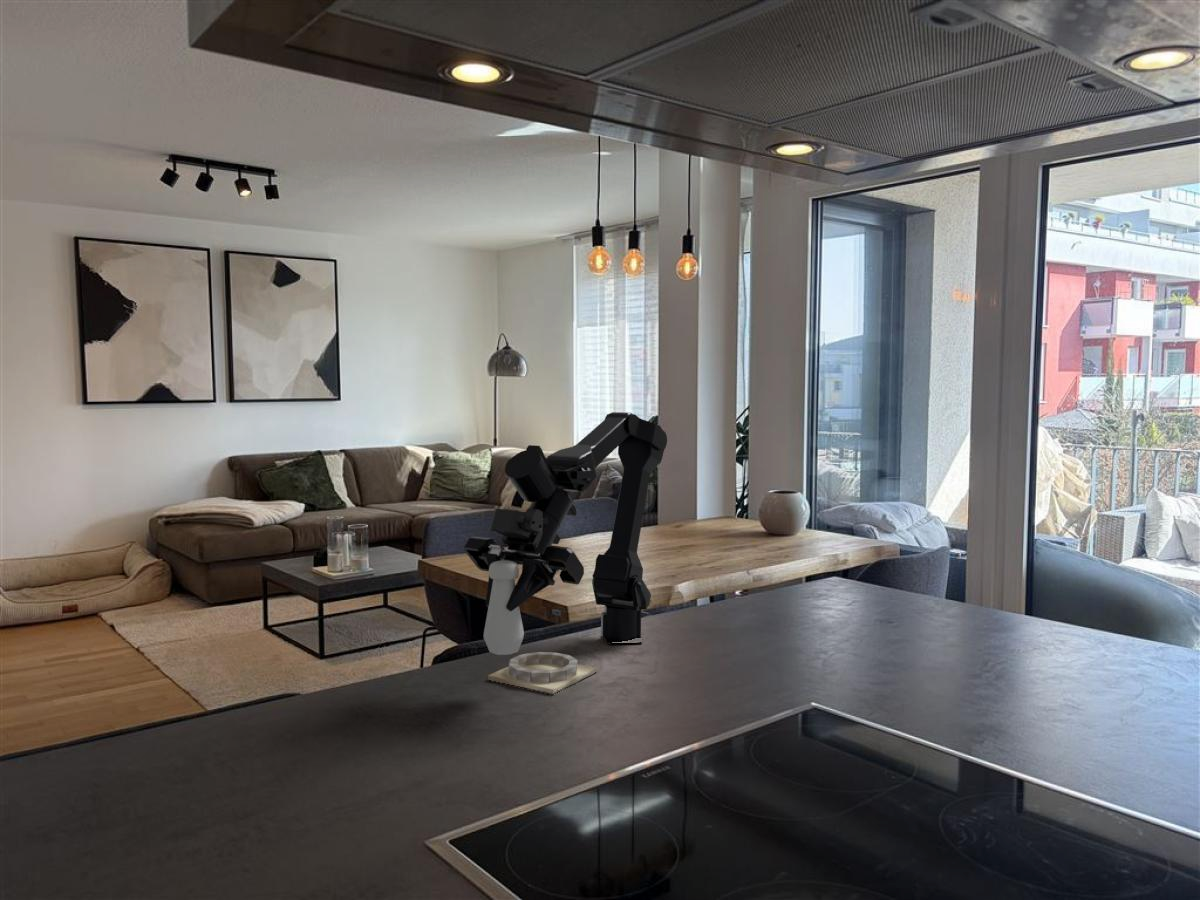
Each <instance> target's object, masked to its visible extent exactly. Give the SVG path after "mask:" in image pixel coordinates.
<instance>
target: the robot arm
mask: <svg viewBox="0 0 1200 900" xmlns="http://www.w3.org/2000/svg"><path fill="white" fill-rule="evenodd" d="M667 445H668V436H667V432H665V430H663V428H662V427H661V425H659V424H655V423H653V422H650V421H648V420H646V419H643V418H640V417H639V416H638V415H636V414H633V413H632V412H627V411H626V412H624V411H623V412H619V411H618V412H615V411H612V412H610V413H607V414H606V416H605V418H604V420H603V421H602V422H600V423H599V424H598V425H597V426H596V427H595V428H593V430H591V431H590V432H588V434H586V436H584V437H583V438H582V439H581V440H580V441H578V442H577V443H576V444H574V445H573V446H570V447H565V448H561V449H559V450H557V451H555V452H553V453H551V454H549V455H548V456H547V457H546V455H545V454H544V451H543V449H542V447H541V446H540V445H534V444H533V445H531V444H528V445H527V447H526V449H524V450H522V451H519V452H518V453H516V454H515V455H513V456H512V457H511V458H509V459H508V460H507V462H506V464H505V467H504V472H505V475H506V476H507V477H508V479H509V481H511V483H512V485H513V486H514V488H515V489H516V491H517V492H518V493H519V495H520V497H521V498H522V499H523V500H524V501H526V502H528V503H530V504H529V506H528V507H527V509H526V510H525V511H519V510H517V509H516V510H514V509H507V508H506V509H504V508H495V509H494V513H493V515H492V520H491V524H490V527H489V531H491V532H495V533H498V534H499V535H502V537H501V539H500V540H502V542H503V544H505V545H507V548H504V547H503V546H501V545H498V544H497V543H496V541H495V540H494V539H493V537H492V538H491V537H484V536H483V537H482V536H470V537H468V539H467V541H466V543H465V545H464V546H463V548H462V550H463V551H464V552H465V554H466V555H467V556H468V558H469V559H470V560H471V562H472V563H473V564H474V566H476V567H477V569H478V570H480V571H482V572H488V573H489V567H490V565H491V564H492V563H493V562H496V561H503V560H507V561H513V562H516V563H517V564H518V566H522V567H521V574H520V575H519V577H518V580H517V582H516V583H515V588H514V590H513V592H512V594H511V596H510V598H509V601H508V603H507V606H506V608H507V609H508V610H509V611H513V610H514V609H515V608H517V607H518V606H519V607H520V606H521V605H522V604H523V603H525V602H526V601H528V599H531V597H533V596H534V595H536V594H537V593H540V592H541V591H542V590H544V589H546V588H547V587H548V586H555V584H556V581H555V579H554V578H555V576H556V574H557V573H559V578H560V580H561V582H562V583H564V584H572V585H579V584H580V583H581V580H582V579H583V576H584V575H585V568H584V565H583V564H582V562H581V561H580V559H579V557H578V555H576V552H575V551H574V550H573V548H572V547H568V546H559V543H560V541H561V537H560V536H559V534H558V533H559V531H560V529H561V527H562V525H563V523H564V521H565V519H566V517H567V516H573V517H575V516H577V508H576V505H575V502H574V500H575V499H573V498H571V497H570V495H569V494H568V492H576V493H577V492H578V493H584V492H585V491H586V490H588V489H589V487H590V486H591V485H592V484H593V482H594V480H596V479H595V478H597V468H598V466H599V465H600V464H601V463H602V462H603V461H604V460H605V459H606V458H608V456H610V454H611V453H613V451H615V450H616V449H617V455H618V458H619V460H620V462H621V465H622V468H623V469H622V470H623V472H622V477H621V482H620V488H619V494H618V499H617V505H616V508H615V509H616V510H615V515H614V521H613V527H612V534H611V538H610V544H609V547H608V548H607V550H606V551H605V552H604V553H603V554H601V553H598V555H597V557H596V558H595V565H594V570H593V573H592V579H591V580H592V581H591V583H592V584H591V585H592V588H593V589H592V590H593V595H594V600H595V605H597V606H598V605H599V606H603V607H604V609H603V610H604V611H601V613H600V622H601V623H600V635H601V637H602V639H604V641H606V642H605V644H606V643H612V642H622V641H628V640H632V639H635V638H642V610H647V609H648V607H649V606H650V603H651V597H652V593H651V591H650V590H649V588H648V587H647V585H646V583H645V581H644V580H643V572H644V569H643V568H644V567H643V566H642V565H643V564H642V563H641V560H640V557H639V554H638V547H639V542H640V541H639V540H640V535H641V530H642V524H643V519H644V513H645V508H646V501H647V500H646V499H647V496H648V489H649V483H650V477H651V474H652V473H653V472H654V471H655V469H657V467H658V466H659V465H660V464H661V462H662V461H663V457H664V453H665V449H666V448H667ZM559 571H560V572H559ZM487 581H488V582H487V588H486V589H487V591H486V595H485V596H486V598H485V606H486V607H487V608H488V607H489V601H490V595H491V590H492V584H493V579H492V578H490V576H489V575H488V580H487Z"/></svg>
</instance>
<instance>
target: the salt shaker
mask: <svg viewBox="0 0 1200 900" xmlns="http://www.w3.org/2000/svg"><path fill="white" fill-rule="evenodd" d="M519 573H520V569H519V565H518V564H517V563H516V562H513V561H507V560H503V561H496V562H493V563H492V564H491V565H490V567H489V572H488V577H489V576H490V578H492V579H493V584H492V590H491V595H490V601H489V607H487V613H486V619H485V625H484V629H483V635H482V636H483V640H484V642H485V644H486V647H487V649H488V651H489V653H491V654H495V655H497V656H498V655H499V656H500V655H501V656H502V655H503V656H504V655H506V656H508V655H513V654H515V653H518V652H519V650H520V648H521V645H522V642H523V639H524V636H525V635H524V634H525V633H524V625H523V621H522V615H521V610H520V605H519V606H518V607H517V608H515V609H514V610H513V611H509V610H508V609H507V608H506V606H507V603H508V601H509V598H510V596H511V594H512V592H513V590H514V588H515V586H516V581H515V580H516V579H519V576H520V574H519Z"/></svg>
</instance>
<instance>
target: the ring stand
mask: <svg viewBox="0 0 1200 900" xmlns="http://www.w3.org/2000/svg"><path fill="white" fill-rule="evenodd" d="M595 670H597V667H594V666H588V665H583V664H578V659H577V658H575V657H573V656H572V655H569V654H566V653H565V654H564V653H559V652H554V651H551V652H550V651H536V652H528V653H523V654H519V655H517V656H514V657H512V658H510V660H509V662H508V666H507V667H504V668H501V669H499V670H497V671H495V672H493V673H491V674H490V673H489V674H488V676H487V677H488V678H487V681H489V680H491V681H490V682H494V681H496V682H495V683H498V682H500V683H499V684H502V683H506V684H505V685H507V684H510V685H509V686H511V685H515V686H514V687H516V686H520V687H525V688H530V689H535V690H540V691H546V692H552V693H554V692H556V691H557V690H560V689H562V688H563V687H565V686H567V685H569V684H571V683H572V682H575V681H576V680H578V679H580V678H582V677H583V676H585V675H588V674H589V673H591V672H593V671H595ZM597 671H598V670H597ZM520 687H519V688H520Z"/></svg>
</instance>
